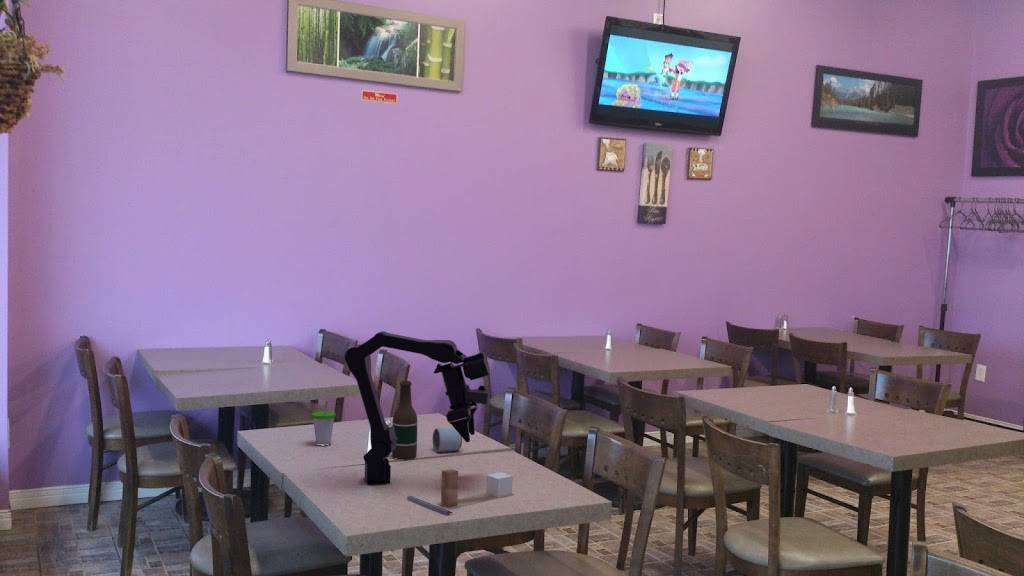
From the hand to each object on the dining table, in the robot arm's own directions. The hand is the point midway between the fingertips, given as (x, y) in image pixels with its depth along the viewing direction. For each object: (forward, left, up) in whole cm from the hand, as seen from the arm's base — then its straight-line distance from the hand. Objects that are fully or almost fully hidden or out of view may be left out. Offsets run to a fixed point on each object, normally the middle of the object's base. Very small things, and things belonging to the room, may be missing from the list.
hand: (470, 438), depth 268 cm
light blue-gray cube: (+4, -13, -13) cm, 18 cm away
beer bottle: (-9, +37, -14) cm, 41 cm away
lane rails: (-5, -11, -14) cm, 18 cm away
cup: (-30, +60, -14) cm, 69 cm away
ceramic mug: (+6, +42, -14) cm, 45 cm away
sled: (-4, -16, -14) cm, 21 cm away
